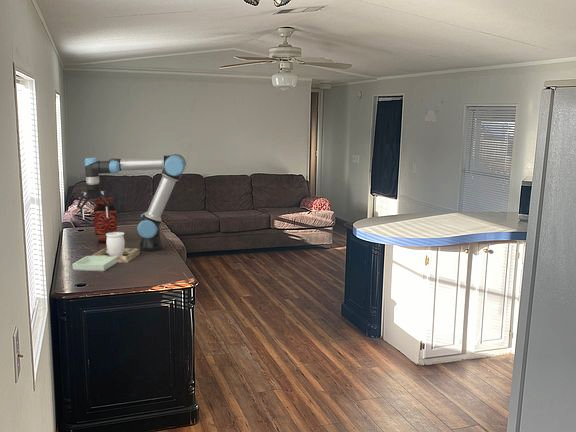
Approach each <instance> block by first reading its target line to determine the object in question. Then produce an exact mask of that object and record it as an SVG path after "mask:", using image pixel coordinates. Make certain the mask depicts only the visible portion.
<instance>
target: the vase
mask: <svg viewBox="0 0 576 432" xmlns="http://www.w3.org/2000/svg"><path fill="white" fill-rule="evenodd" d="M100 197H101V198H102V199H103V200H104V201H105V202H106V203H107V204H109V202H108V201H107V199H106V198H105V196H104V197H103V196H100ZM107 197H108V198H109V200H110V202H111V203H112V202H114V198H113V196H107ZM94 202H95V203H96V205H95V207H94V208H93V216H94V217H93V220H94V222H93V223H94V234H95V236H96V237H97V238H98V241H97V245H98V246H102V245H103V246H104V245H106V240H107V236H106V234H107V233H110V232H118V227H117V226H118V225H117V224H118V223H117V219H118V218H117V210H116V207H115V206H114V204H113V203H112V206H110V207H109V210H110V211H109V212H108V218H107V216H106V207H107V206H106V205H105V204H104V203H103V202H102V201H101V200H100V199H99V198H97V199H94ZM106 246H107V245H106Z"/></svg>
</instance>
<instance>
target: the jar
mask: <svg viewBox="0 0 576 432" xmlns="http://www.w3.org/2000/svg"><path fill="white" fill-rule="evenodd" d="M106 236H107V240H106V247H107V250H108V253H109V254H108V256H124V254H123V253H124V248H126V247H125V245H126V241H125V232H123V231H117V232H110V233H107V234H106Z"/></svg>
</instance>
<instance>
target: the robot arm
mask: <svg viewBox="0 0 576 432" xmlns="http://www.w3.org/2000/svg"><path fill="white" fill-rule="evenodd" d="M186 163H187V162H186V159H185V157H184V156H182V155H181V154H179V153H176V154H175V153H174V154H170V155H169V154H168V155H167V154H166V155H162V156H158V157H136V158H135V157H131V158H129V157H128V158H110V159H107V160H99V159H98V157H86V158H84V169H85V171H84V172H85V182H86V186H85V187H86V192H84V191H82V192H81V196H80V198H79V200H78V202H77V205H76V208H77V209H79V210H80V215H82V220H85V212H84V211H85V209H84V206H85V205H86V204H87V203H88V201H90V200H95V199H97V198H99V199H100V200H101V201H102V202H103V203H104V204H105V205H106V206H107V207H106V216H107V218H108V212H109V211H110V210H109V207H110V206H112V204H113V203H112V202H110V200H109V198H108V197H109V196H108V195H107V192H106V190H101V186H100V185H101V184H100V175H99V174H118V173H120V171H123V172H124V171H125V172H126V171H151V170H161V172H160V173H161V175H162V177H161V179H160V180H159V183H158V186H157V188H156V190H155V193H154V195H153V198H152V200H151V202H150V204H149V207H148V209H147V211H145V212H143V213H142V214H140V221H139V223H138V224H137V228H136V230H137V233H138V235H139V236H140V237H141V239H140V243H139V246H138V247H139V248H138V249H140V251H144V252H155V251H160V250H163V249H164V243H163V240H162V237H161V223H162V221H163V220H162V217H161V216H162V215H163V212H164V210H165V208H166V206H167V202H168V201H169V199H170V196H171V194H172V191H173V189H174V187H175V185H176V182H178V181H180V180H181V177H182V175H183V173H184V171H185V168H186ZM101 195H103V196H104V197H105V198H106V199H107V201H108V202H109V204H107V203H106V202H105V201H104V200H103V199H102V198H101V197H102V196H101ZM85 196H87V197H86V199H85V200H84V202H83V199H84V197H85ZM81 203H82V204H81Z"/></svg>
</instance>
